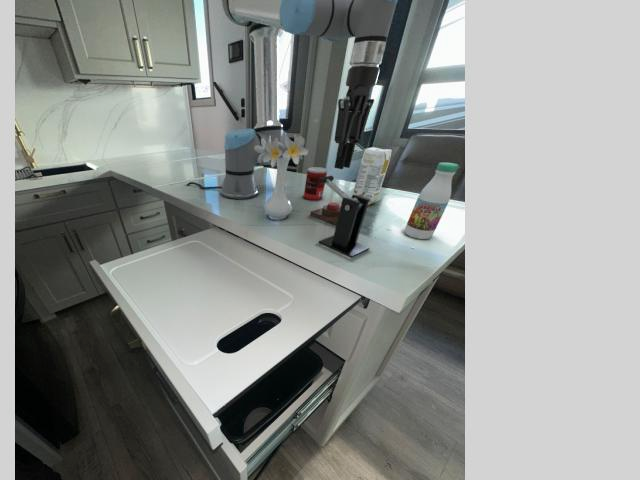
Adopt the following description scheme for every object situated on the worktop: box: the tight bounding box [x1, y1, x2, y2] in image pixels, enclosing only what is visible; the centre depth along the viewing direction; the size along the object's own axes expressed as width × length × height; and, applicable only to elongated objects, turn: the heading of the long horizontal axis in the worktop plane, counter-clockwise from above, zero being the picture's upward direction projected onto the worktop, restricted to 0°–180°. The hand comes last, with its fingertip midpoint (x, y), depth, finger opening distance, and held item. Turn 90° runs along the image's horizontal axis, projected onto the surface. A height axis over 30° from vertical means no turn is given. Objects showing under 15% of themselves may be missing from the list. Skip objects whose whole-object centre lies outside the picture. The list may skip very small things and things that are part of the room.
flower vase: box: [254, 133, 309, 221], centre depth 86 cm, size 13×18×25 cm
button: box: [327, 201, 340, 210], centre depth 89 cm, size 4×4×2 cm
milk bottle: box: [403, 162, 459, 240], centre depth 77 cm, size 8×8×20 cm
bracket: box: [318, 194, 370, 259], centre depth 71 cm, size 11×8×14 cm
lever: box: [317, 175, 363, 211], centre depth 69 cm, size 13×5×2 cm, turn 36°
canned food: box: [303, 166, 328, 201], centre depth 108 cm, size 8×8×11 cm
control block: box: [309, 204, 341, 227], centre depth 91 cm, size 11×9×4 cm
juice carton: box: [352, 146, 393, 206], centre depth 101 cm, size 8×9×19 cm
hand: (341, 167), depth 82 cm, fingers open, 3 cm apart
